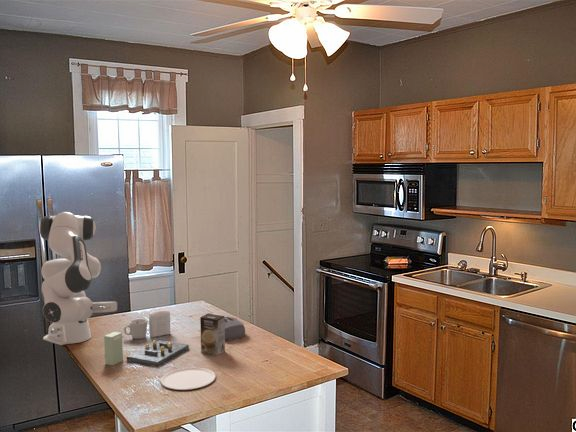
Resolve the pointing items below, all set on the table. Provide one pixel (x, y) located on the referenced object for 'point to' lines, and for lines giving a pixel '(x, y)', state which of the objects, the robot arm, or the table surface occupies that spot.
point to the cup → (137, 328)
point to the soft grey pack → (233, 329)
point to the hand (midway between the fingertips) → (102, 305)
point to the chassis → (157, 353)
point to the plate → (188, 378)
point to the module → (113, 348)
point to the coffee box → (212, 334)
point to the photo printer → (159, 323)
